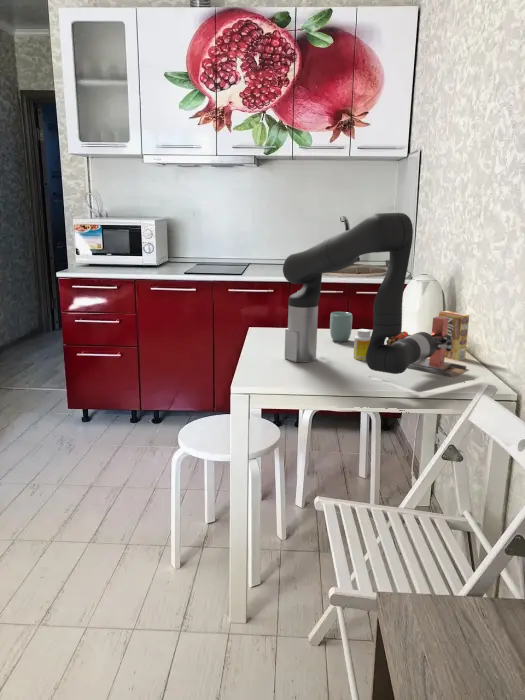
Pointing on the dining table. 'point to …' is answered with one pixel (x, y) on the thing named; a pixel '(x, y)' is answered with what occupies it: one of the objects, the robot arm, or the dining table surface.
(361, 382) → the dining table surface
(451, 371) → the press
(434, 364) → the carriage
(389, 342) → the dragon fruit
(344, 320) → the cup
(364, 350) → the supplement bottle
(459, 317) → the candy box
